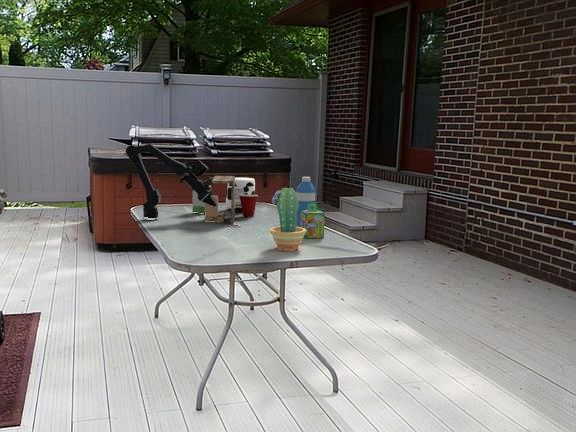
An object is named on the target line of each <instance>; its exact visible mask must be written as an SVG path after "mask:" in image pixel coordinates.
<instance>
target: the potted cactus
mask: <svg viewBox="0 0 576 432" xmlns="http://www.w3.org/2000/svg"><path fill="white" fill-rule="evenodd" d="M271 202H272V204H273V206H275V204H276V209H277V214H278V218H279V226H273V227H270V228H269V233H270V235H272V238H273V242H274V243H275V245H276V250H279V251H283V250H284V251H283V252H293V251H292V250H294V251H297V250H296V249H298V250H299V246H300V244H301V243H302V241H303V239H304V235H305V234H306V231H307V230H306V229H305V228H301V227H296V214H297V211H298V206H299V197H298V195H297V193H296V191H295V189H294V188H292V187H289V188H288V187H282V188H281V190H277V191H276V192H274V195H273V196H272V198H271Z"/></svg>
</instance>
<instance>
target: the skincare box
mask: <svg viewBox="0 0 576 432" xmlns="http://www.w3.org/2000/svg"><path fill="white" fill-rule="evenodd" d="M210 187H211V188H212V185H210ZM209 191H210V190H209ZM202 200H203V199H202ZM202 200H201V201H202ZM201 201H200V200H199V199H198V195H197V193H196V192H195V191H194V190H192V207H191V208H192V209H191V210H192V211H191V212H198V213H206V210H205V203H204V202H201Z"/></svg>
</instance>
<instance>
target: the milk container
mask: <svg viewBox="0 0 576 432" xmlns="http://www.w3.org/2000/svg"><path fill="white" fill-rule="evenodd" d="M226 188H227V195H226V198H225V207H226V209H227V210H229V211H231V184H227V187H226ZM255 192H256V181H255V178H252V177H235V212H242V208H241V201H240V197H239V195H241V194H249V195H256V193H255Z"/></svg>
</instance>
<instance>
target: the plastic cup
mask: <svg viewBox="0 0 576 432" xmlns="http://www.w3.org/2000/svg"><path fill="white" fill-rule="evenodd" d="M239 197H240V201H241V208H242V211H241V213H242V217H243V216H244V218H253V217H254V216H255V211H256V207H257V201H258V197H259V195H258V194H255V195H249V194H241V195H239Z"/></svg>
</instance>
